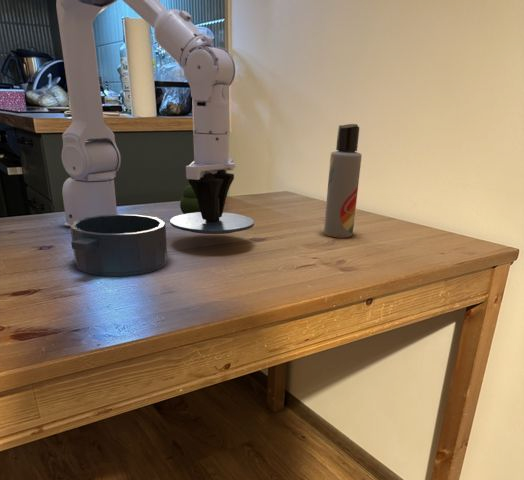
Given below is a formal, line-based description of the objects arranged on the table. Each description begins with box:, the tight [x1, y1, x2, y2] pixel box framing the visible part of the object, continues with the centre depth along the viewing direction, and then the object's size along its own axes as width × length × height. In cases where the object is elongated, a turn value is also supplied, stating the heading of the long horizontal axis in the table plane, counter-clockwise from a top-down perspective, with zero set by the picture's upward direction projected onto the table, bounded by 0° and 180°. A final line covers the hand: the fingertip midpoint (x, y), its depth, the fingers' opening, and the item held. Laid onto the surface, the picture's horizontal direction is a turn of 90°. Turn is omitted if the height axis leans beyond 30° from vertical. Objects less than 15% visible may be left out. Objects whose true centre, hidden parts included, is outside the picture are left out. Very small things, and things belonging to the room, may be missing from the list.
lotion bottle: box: [323, 123, 363, 239], centre depth 94 cm, size 6×6×20 cm
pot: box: [69, 213, 168, 277], centre depth 76 cm, size 14×19×6 cm
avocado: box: [179, 184, 200, 214], centre depth 106 cm, size 5×5×7 cm
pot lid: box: [169, 197, 255, 235], centre depth 86 cm, size 15×15×5 cm
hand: (212, 218), depth 87 cm, fingers closed on pot lid, 2 cm apart
